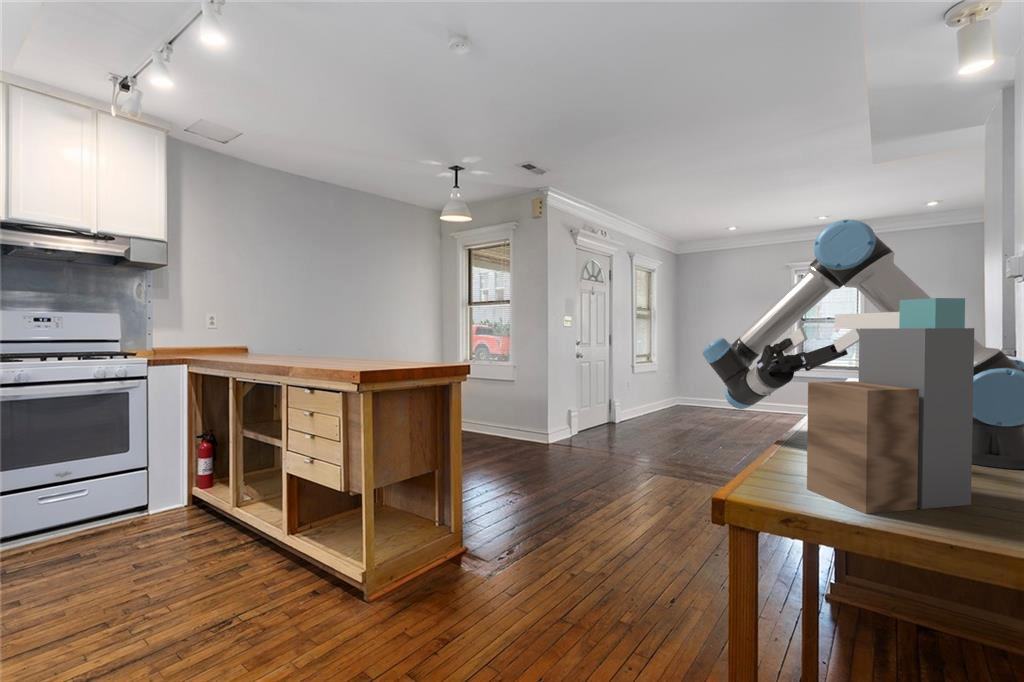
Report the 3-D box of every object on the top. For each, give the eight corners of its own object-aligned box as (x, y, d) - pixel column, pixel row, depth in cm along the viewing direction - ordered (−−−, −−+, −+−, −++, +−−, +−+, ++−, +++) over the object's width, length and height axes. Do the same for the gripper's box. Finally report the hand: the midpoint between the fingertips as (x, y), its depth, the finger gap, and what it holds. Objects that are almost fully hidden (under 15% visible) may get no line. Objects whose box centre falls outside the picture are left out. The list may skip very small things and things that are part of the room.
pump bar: (852, 328, 99) (853, 305, 99) (964, 328, 79) (965, 298, 79) (828, 328, 98) (828, 304, 98) (935, 328, 78) (935, 297, 78)
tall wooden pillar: (852, 485, 90) (854, 381, 89) (917, 509, 78) (919, 389, 77) (806, 489, 88) (808, 382, 87) (865, 513, 76) (867, 390, 76)
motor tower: (900, 482, 92) (903, 328, 91) (970, 504, 80) (974, 328, 79) (857, 485, 90) (859, 328, 89) (922, 508, 78) (925, 328, 77)
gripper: (819, 387, 119) (889, 348, 101) (730, 390, 115) (786, 349, 96) (807, 361, 123) (873, 318, 104) (720, 362, 118) (773, 318, 100)
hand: (831, 333), depth 100 cm, fingers open, 13 cm apart
